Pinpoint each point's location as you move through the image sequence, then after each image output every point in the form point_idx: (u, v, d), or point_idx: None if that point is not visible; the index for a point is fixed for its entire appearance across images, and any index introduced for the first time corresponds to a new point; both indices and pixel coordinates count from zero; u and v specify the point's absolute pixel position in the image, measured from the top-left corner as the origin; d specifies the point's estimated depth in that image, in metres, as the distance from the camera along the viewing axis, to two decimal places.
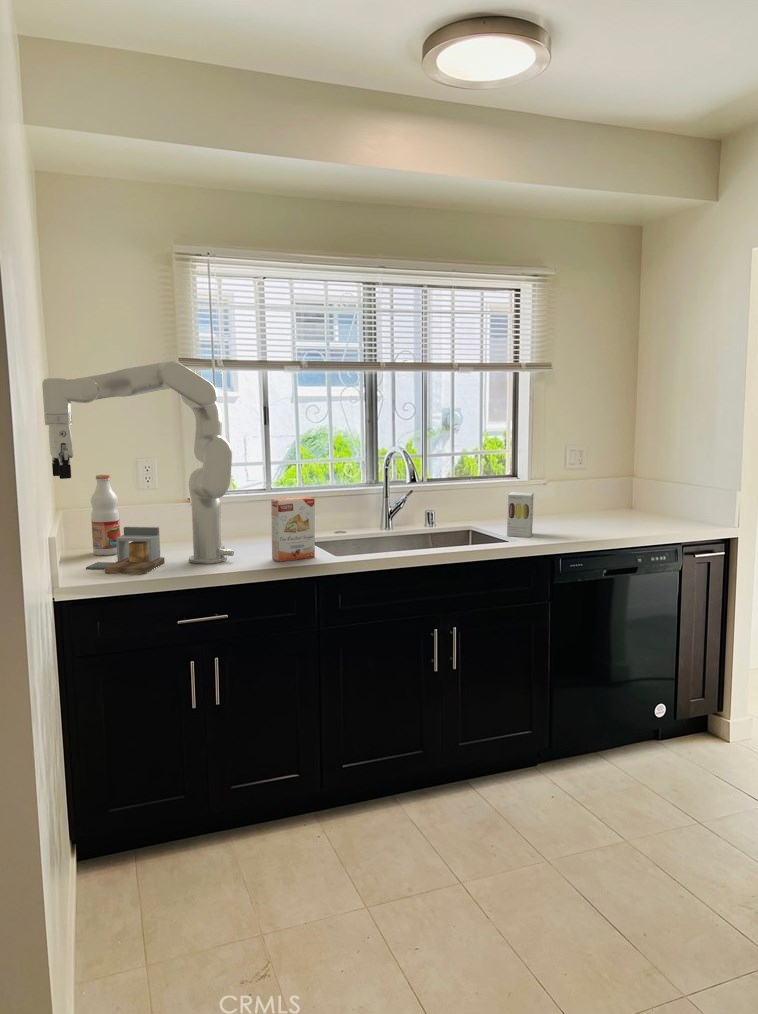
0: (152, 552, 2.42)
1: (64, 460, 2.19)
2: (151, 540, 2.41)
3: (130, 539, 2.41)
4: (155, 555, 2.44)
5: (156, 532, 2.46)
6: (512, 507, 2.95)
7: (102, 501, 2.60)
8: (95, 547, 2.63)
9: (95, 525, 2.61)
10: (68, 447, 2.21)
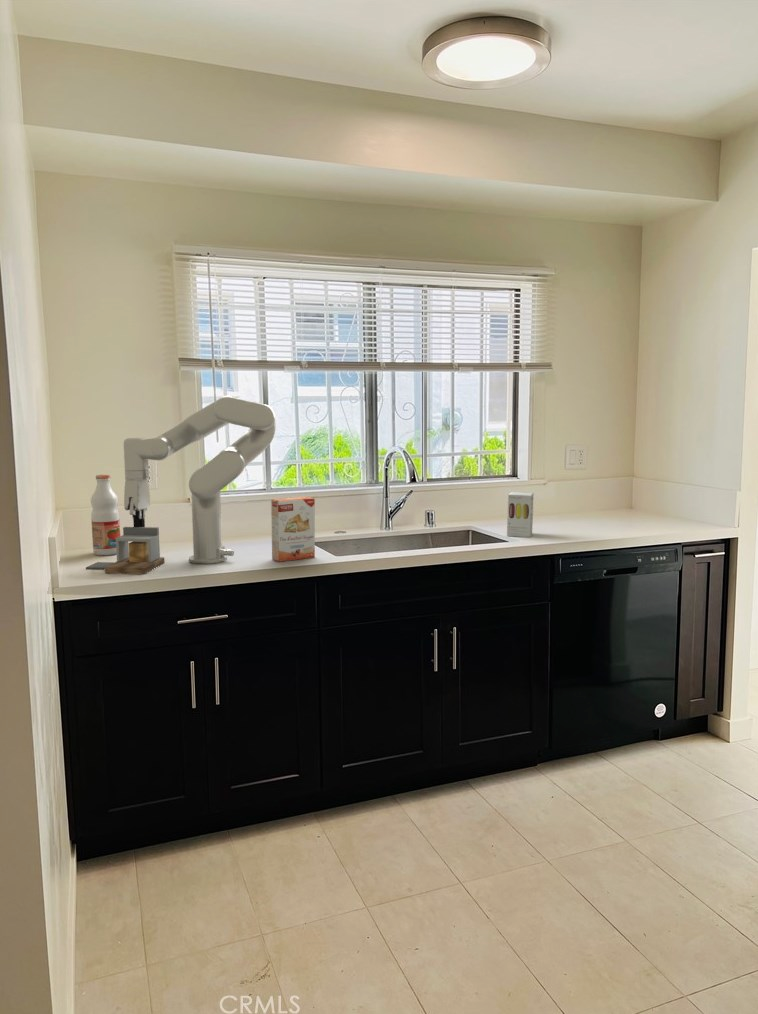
0: (152, 552, 2.42)
1: None
2: (151, 540, 2.41)
3: (130, 539, 2.41)
4: (155, 555, 2.44)
5: (156, 532, 2.46)
6: (512, 507, 2.95)
7: (102, 501, 2.60)
8: (95, 547, 2.63)
9: (95, 525, 2.61)
10: None
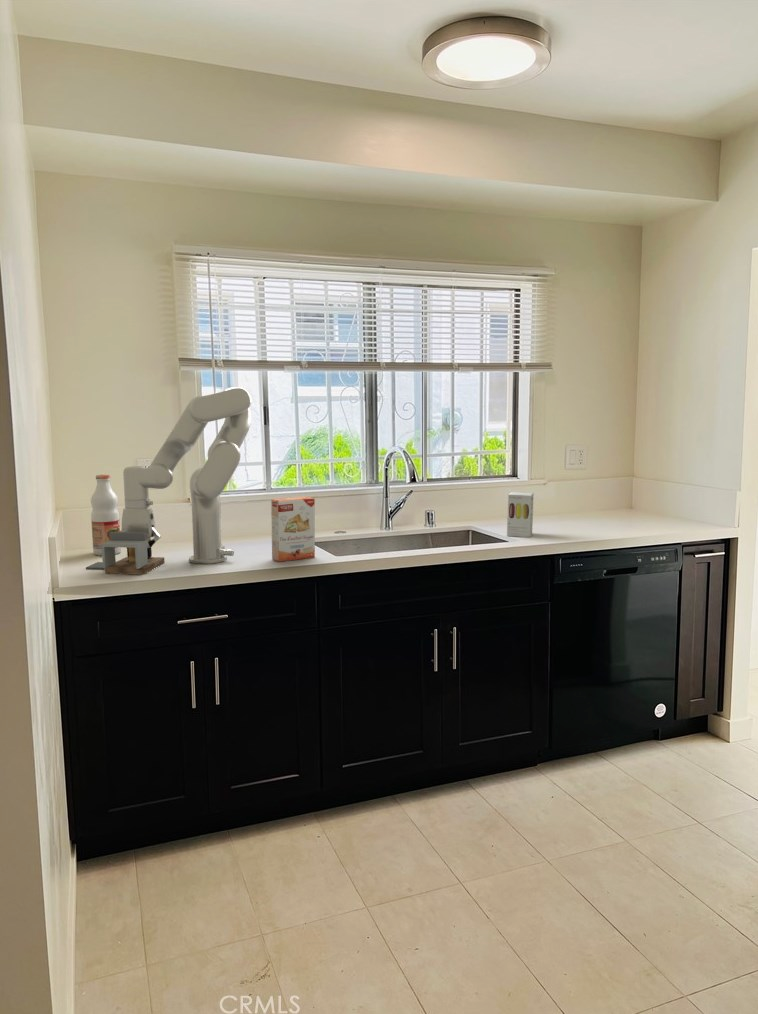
0: (139, 558, 2.32)
1: (153, 543, 2.44)
2: (138, 546, 2.31)
3: (116, 545, 2.32)
4: (142, 562, 2.35)
5: (143, 538, 2.36)
6: (512, 507, 2.95)
7: (102, 501, 2.60)
8: (95, 547, 2.63)
9: (95, 525, 2.61)
10: (154, 528, 2.46)
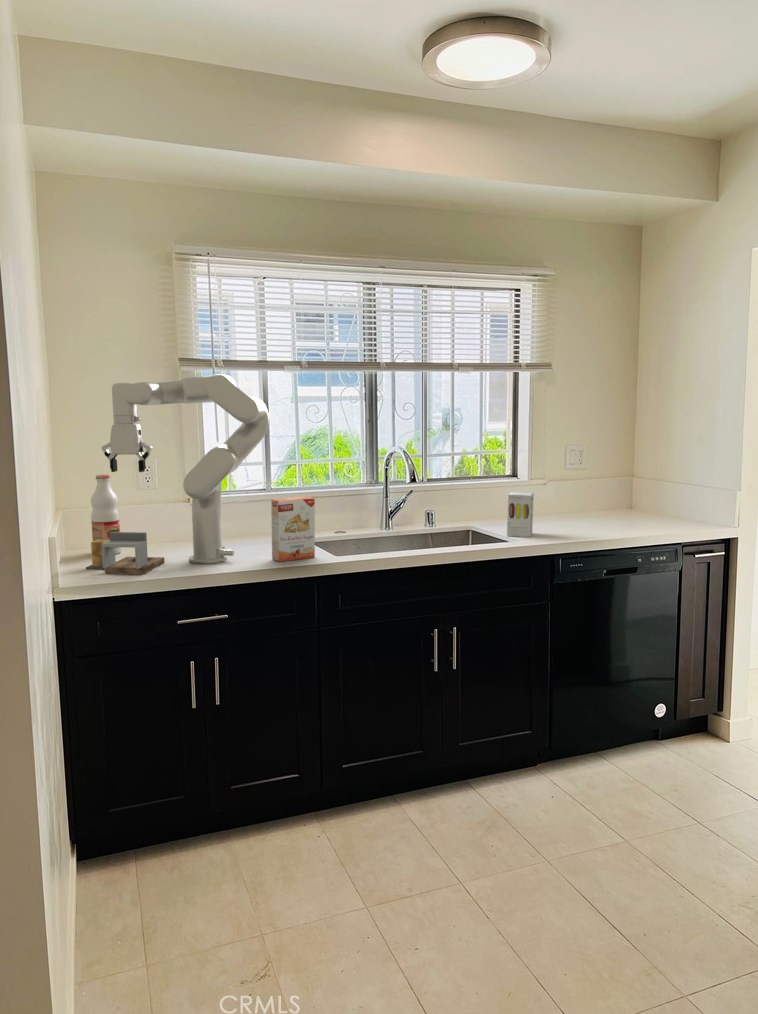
0: (139, 558, 2.32)
1: (147, 455, 2.49)
2: (138, 546, 2.31)
3: (116, 545, 2.32)
4: (142, 562, 2.35)
5: (143, 538, 2.36)
6: (512, 507, 2.95)
7: (102, 501, 2.60)
8: None
9: (95, 525, 2.61)
10: None
